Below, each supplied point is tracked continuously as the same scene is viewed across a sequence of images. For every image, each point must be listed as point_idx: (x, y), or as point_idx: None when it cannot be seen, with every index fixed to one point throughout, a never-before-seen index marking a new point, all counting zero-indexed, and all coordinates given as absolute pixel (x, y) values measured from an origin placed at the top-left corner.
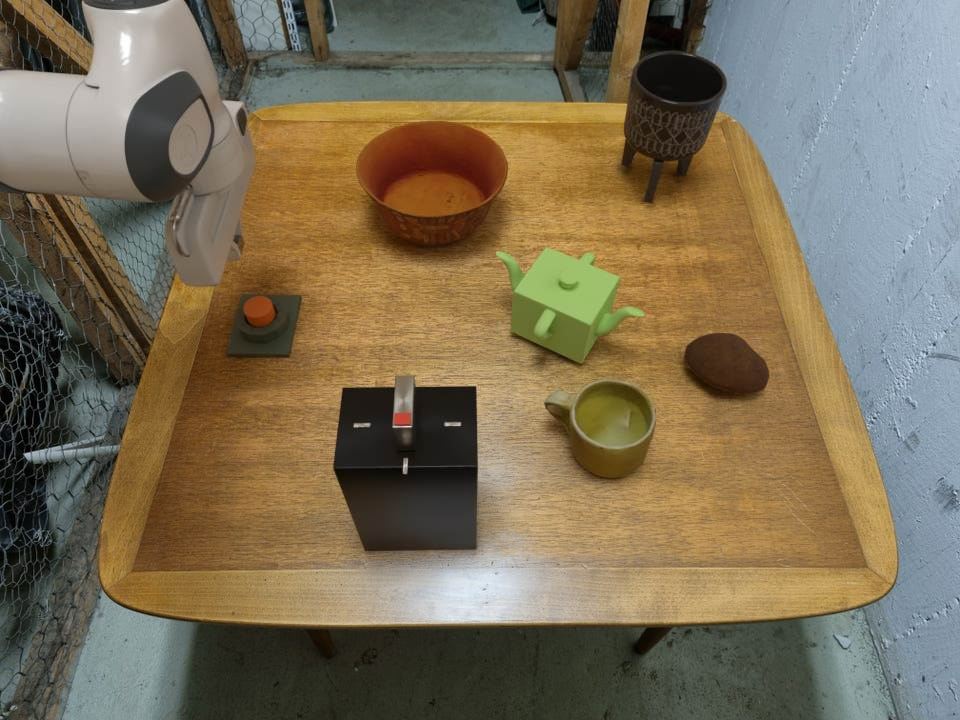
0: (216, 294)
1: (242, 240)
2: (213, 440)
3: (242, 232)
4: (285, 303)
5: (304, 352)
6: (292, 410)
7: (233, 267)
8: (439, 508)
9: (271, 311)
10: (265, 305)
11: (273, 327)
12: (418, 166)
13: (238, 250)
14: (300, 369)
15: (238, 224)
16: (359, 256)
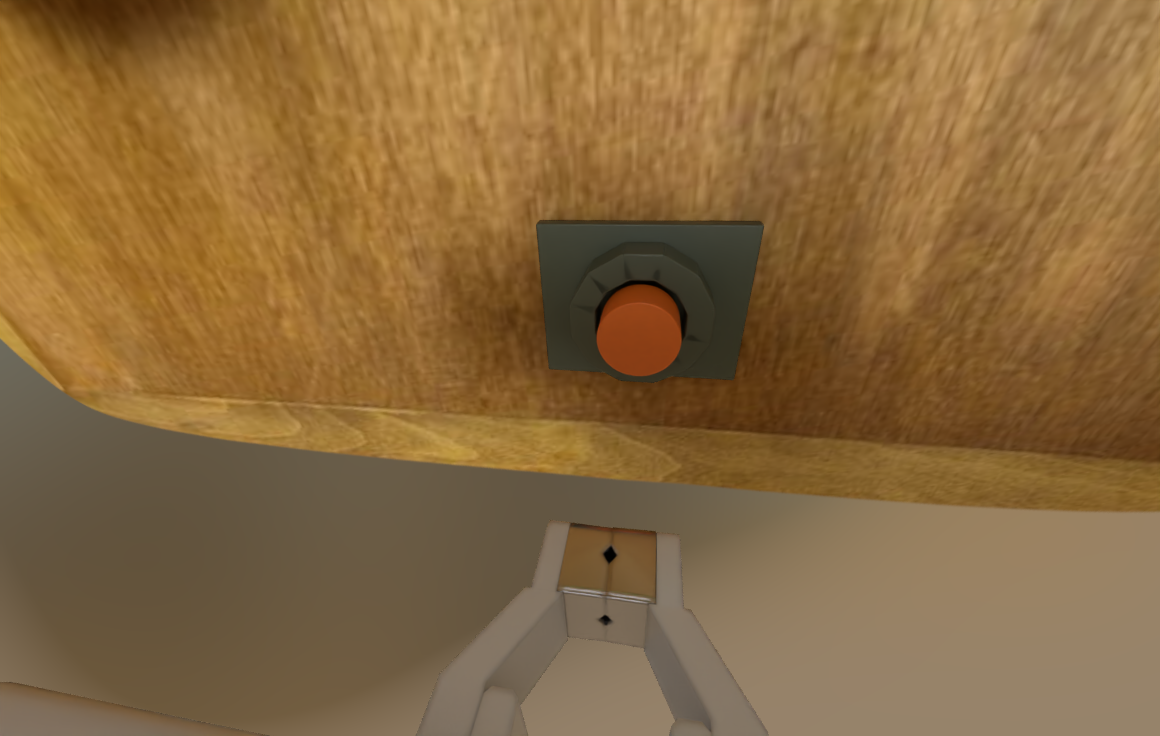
0: (547, 413)
1: (575, 559)
2: (995, 370)
3: (535, 582)
4: (571, 262)
5: (748, 177)
6: (982, 177)
7: (468, 392)
8: None
9: (652, 299)
10: (635, 320)
11: (691, 283)
12: None
13: (668, 585)
14: (815, 178)
15: (517, 655)
16: (338, 43)
